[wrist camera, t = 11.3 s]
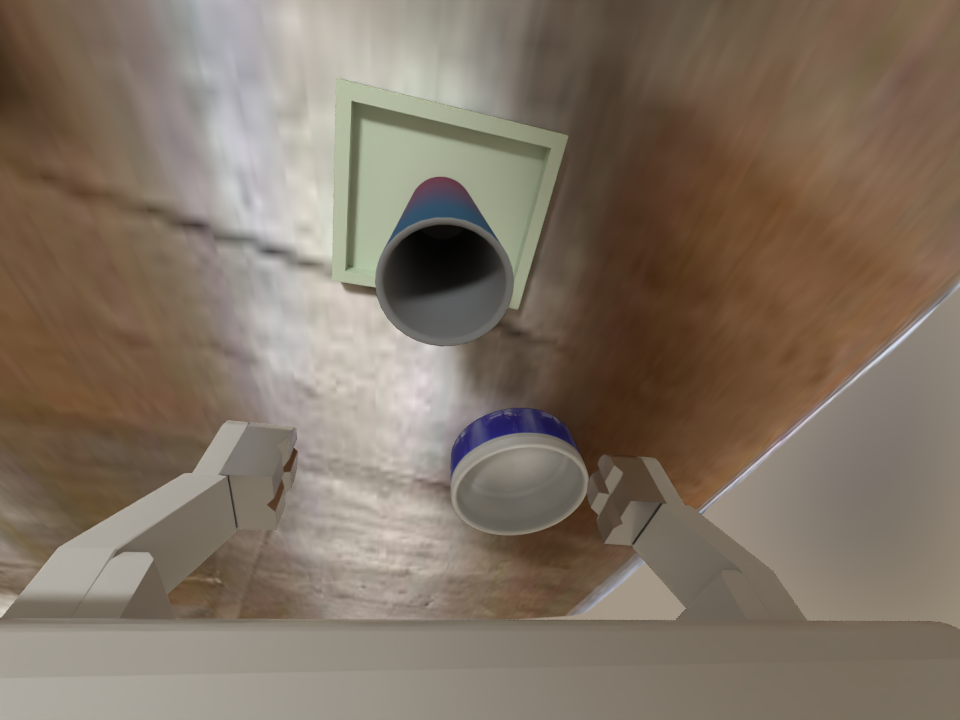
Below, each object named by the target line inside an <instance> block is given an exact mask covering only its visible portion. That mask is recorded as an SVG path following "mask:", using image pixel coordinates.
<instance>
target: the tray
mask: <svg viewBox="0 0 960 720" xmlns="http://www.w3.org/2000/svg"><path fill="white" fill-rule="evenodd" d="M567 140H568V135H565V134H563V133H559V132H555V131H550V130H546V129H542V128H538V127H534V126H530V125H526V124H522V123H518V122H514V121H510V120H506V119H502V118H498V117H493V116H489V115H485V114H481V113H477V112H473V111H469V110H465V109H461V108H457V107H453V106H449V105H445V104H441V103H436V102H432V101H428V100H424V99H420V98H416V97H412V96H408V95H404V94H400V93H396V92H392V91H388V90H384V89H379V88H375V87H371V86H367V85H363V84H359V83H355V82H351V81H347V80H343V79H336V105H335V155H334V206H333V256H332V281H338V282H344V283H351V284H357V285H363V286H370V287H375V276H376V268H377V265H378V262H379V258H380V256H381V254H382V252H383V250H384V248H385V246H386V244H387V242H388V241H389V239H390V237H391V235H392V233H393V231H394V229H395V227H396V225H397V223H398V221H399V219H400V218H401V216H402V214H403V212H404V210H405V208H406V206H407V204H408V202H409V200H410V198H411V197H412V195H413V193H414V191H415V189H416V188H417V187H418V186H419V185H420V184H421V183H423V182H424V181H425V180H428V179H430V178H433V177H448V178H451V179H453V180H456V181H457V182H459V183H460V184H461V185H462V186H463V187H464V188H465V189H466V190H467V192H468V193H469V195H470V196H471V198H472V200H473V201H474V203H475V204H476V206H477V207H478V209H479V211H480V212H481V214H482V215H483V217H484V218H485V220H486V222H487V223H488V225H489V226H490V228H491V229H492V231H493V233H494V234H495V236H496V237H497V239H498V240H499V242H500V244H501V245H502V247H503V248H504V250H505V251H506V253H507V255H508V257H509V260H510V263H511V265H512V269H513V276H514V287H513V295H512V298H511V302H510V305H509V307H508V308H512V309H518V308H519V305H520V301H521V298H522V295H523V291H524V288H525V284H526V281H527V277H528V274H529V270H530V267H531V264H532V260H533V257H534V253H535V250H536V246H537V243H538V240H539V236H540V233H541V229H542V226H543V222H544V219H545V215H546V212H547V209H548V205H549V202H550V198H551V195H552V191H553V188H554V185H555V181H556V178H557V174H558V171H559V167H560V164H561V160H562V157H563V154H564V150H565V147H566V143H567Z"/></svg>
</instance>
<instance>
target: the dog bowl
mask: <svg viewBox="0 0 960 720" xmlns="http://www.w3.org/2000/svg"><path fill="white" fill-rule="evenodd" d="M588 481H589V476H588V472H587V469H586V466H585V464H584V462H583V459H582V457H581V455H580V452H579V450H578V448H577V446H576V443H575V441H574V439H573V437H572V435H571V433H570V431H569V430H568V428H567V427H566V426H565V424H564V423H563V422H561V421H560V420H559V419H558V418H556V417H554V416H553V415H551V414H549V413H546V412H543V411H540V410H536V409H530V408H511V409H504V410H500V411H496V412H493V413H490V414H487V415H485V416H483V417H481V418H479V419H477V420H476V421H474V422H473V423H471V424H470V425H469V426H468V427H466V428H465V429H464V430H463V431H462V432H461V434H460V435H459V436H458V438H457V439H456V441H455V443H454V445H453V448H452V453H451V501H452V505H453V508H454V510H455V512H456V513H457V515H458V516H459V517H460V518H461V519H462V520H463V521H464V522H465V523H466V524H468V525H469V526H471V527H473V528H475V529H477V530H480V531H483V532H486V533H490V534H496V535H522V534H528V533H533V532H537V531H540V530H543V529H546V528H548V527H551V526H553V525H555V524H557V523H559V522H560V521H562V520H564V519H565V518H566V517H568V516H569V515H570V514H571V513H573V512H574V511H575V510H576V509H577V508H578V506H579V505H580V504H581V502H582V501H583V499H584V498H585V496H586V493H587V485H588Z"/></svg>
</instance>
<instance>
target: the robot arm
mask: <svg viewBox="0 0 960 720" xmlns="http://www.w3.org/2000/svg"><path fill="white" fill-rule="evenodd" d="M296 440H297V431H296V428H295V427H289V426H280V425H271V424H262V423H253V422H251V423H249V422H240V421H231V420H228V421H227V422H225V423H224V424H223V425H222V426H221V428H220V429H219V431H218V433H217V434H216V436H215V437H214V439H213V441H212V442H211V444H210V445H209V447H208V449H207V450H206V452H205V453H204V455H203V457H202V458H201V460H200V461H199V463H198V465H197V466H196V468H195V469H194V471H193V473H184V474H182V475H181V476H179V477H177V478H176V479H174V480H172V481H170V482H169V483H167V484H165V485H164V486H162V487H160V488H159V489H157V490H155V491H153V492H152V493H150V494H148V495H147V496H145V497H143V498H142V499H140V500H138V501H137V502H135V503H133V504H131V505H130V506H128V507H126V508H125V509H123V510H121V511H120V512H118V513H116V514H114V515H113V516H111V517H109V518H108V519H106V520H104V521H103V522H101V523H99V524H98V525H96V526H94V527H92V528H91V529H89V530H87V531H86V532H84V533H82V534H81V535H79V536H77V537H75V538H74V539H72V540H70V541H69V542H67V543H65V544H64V545H62V546H60V547H59V548H58V549H57V550H56V551H55V553H54V554H53V555H52V556H51V557H50V559H49V560H48V561H47V562H46V564H45V565H44V566H43V567H42V568H41V570H40V571H39V572H38V573H37V575H36V576H35V577H34V578H33V580H32V581H31V582H30V583H29V584H28V586H27V587H26V588H25V589H24V591H23V592H22V593H21V594H20V595H19V597H18V598H17V599H16V600H15V602H14V603H13V604H12V605H11V607H10V608H9V609H8V610H7V611H6V613H5V614H4V615H3V616H2V618H0V720H960V629H958V628H956V627H954V626H952V625H949V624H946V623H942V622H935V621H807V619H806V618H805V616H804V615H803V613H802V612H801V611H800V609H799V608H798V606H797V605H796V603H795V602H794V600H793V599H792V597H791V596H790V595H789V593H788V592H787V590H786V589H785V587H784V586H783V584H782V583H781V582H780V580H779V579H778V577H777V576H776V574H775V573H774V572H773V571H772V570H771V569H770V568H769V567H768V566H766V565H765V564H764V563H762V562H761V561H760V560H759V559H757V558H756V557H755V556H754V555H752V554H751V553H750V552H748V551H747V550H746V549H745V548H743V547H742V546H740V545H739V544H738V543H737V542H736V541H734V540H733V539H732V538H731V537H729V536H728V535H727V534H725V533H724V532H723V531H721V530H720V529H719V528H718V527H716V526H715V525H714V524H713V523H711V522H710V521H709V520H708V519H706V518H705V517H704V516H702V515H701V514H700V513H699V512H697V511H696V510H695V509H693V508H692V507H691V506H689V505H684V503H683V501H682V500H681V498H680V496H679V495H678V493H677V491H676V490H675V488H674V486H673V485H672V483H671V481H670V480H669V478H668V476H667V475H666V473H665V471H664V470H663V468H662V466H661V465H660V463H659V461H658V460H656V459H655V458H651V457H635V456H624V455H611V454H604V455H603V456H601V457H600V459H599V461H598V463H597V464H598V467H599V470H597V471H596V472H594V473H593V474H591V476H590V479H589V481H588V485H587V497H588V501H589V504H590V507H591V508H592V509H593V510H594V511H595V512H596V513H597V514H598V517H597V520H596V523H597V526H598V529H599V531H600V534H601V537H602V539H603V542H604V544H616V545H630V546H633V547H632V548H633V549H634V550H635V551H636V552H637V553H638V554H639V555H640V557H641V558H642V559H643V560H644V561H645V562H646V563H647V564H648V566H649V567H650V568H651V569H652V570H653V571H654V572H655V574H656V575H657V576H658V577H659V578H660V579H661V580H662V581H663V583H664V584H665V585H666V586H667V587H668V588H669V589H670V591H671V592H672V593H673V594H674V595H675V596H676V597H677V598H678V600H679V601H680V602H681V603H682V604H683V605H684V606H685V607H686V609H685V610H684V612H682V614H681V615H680V616H679V617H678V618H677V619H676V620H420V619H176V618H175V615H174V613H173V610H172V607H171V604H170V602H169V599H168V596H167V594H168V593H170V592H171V591H172V590H173V589H174V588H175V587H176V586H177V585H178V584H179V583H181V582H182V581H183V580H184V579H185V578H186V577H187V576H188V575H189V574H190V573H192V572H193V571H194V570H195V569H196V568H197V567H198V566H199V565H200V564H201V563H203V562H204V561H205V560H206V559H207V558H208V557H209V556H210V555H211V554H212V553H214V552H215V551H216V550H217V549H218V548H219V547H220V546H221V545H222V544H223V543H225V542H226V541H227V540H228V539H229V538H230V537H231V536H232V535H233V534H234V533H236V532H237V530H236V529H258V530H277V527H278V525H279V522H280V519H281V516H282V514H283V511H284V508H285V494H286V493H287V492H289V491H290V490H291V488H292V485H293V482H294V479H295V474H296V470H297V461H298V451H297V450H296V449H295V448H294V445H295V443H296Z"/></svg>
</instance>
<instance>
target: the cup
mask: <svg viewBox="0 0 960 720" xmlns="http://www.w3.org/2000/svg"><path fill="white" fill-rule="evenodd" d="M375 287H376V294H377V298H378V300H379V303H380V306H381V308H382V310H383V311H384V313H385V315H386V316H387V318H388V319H389V320H390V321H391V323H392V324H393V325H394V326H395V327H396V328H397V329H399V330H400V331H401V332H403V333H404V334H405V335H407V336H409V337H411V338H413V339H415V340H417V341H419V342H423V343H426V344H429V345H436V346H455V345H460V344H465V343H468V342H470V341H473V340H476V339H478V338H479V337H481V336H483V335H484V334H486V333H488V332H489V331H490V330H491V329H492V328H493V327H495V326H496V325H497V324H498V322H499V321H500V320H501V318H502V317H503V316H504V315H505V313H506V311H507V309H508V307H509V305H510V302H511V298H512V295H513V287H514V276H513V269H512V265H511V263H510V260H509V257H508V255H507V253H506V251H505V250H504V248H503V247H502V245H501V244H500V242H499V240H498V239H497V237H496V236H495V234H494V233H493V231H492V229H491V228H490V226H489V225H488V223H487V222H486V220H485V218H484V217H483V215H482V214H481V212H480V211H479V209H478V207H477V206H476V204H475V203H474V201H473V200H472V198H471V196H470V195H469V193H468V192H467V190H466V189H465V188H464V187H463V186H462V185H461V184H460V183H459V182H457V181H456V180H453V179H451V178H448V177H433V178H430V179H428V180H425V181H424V182H423V183H421V184H420V185H419V186H418V187H417V188H416V189H415V191H414V193H413V195H412V197H411V198H410V200H409V202H408V204H407V206H406V208H405V210H404V212H403V214H402V216H401V218H400V219H399V221H398V223H397V225H396V227H395V229H394V231H393V233H392V235H391V237H390V239H389V241H388V242H387V244H386V246H385V248H384V250H383V252H382V254H381V256H380V258H379V262H378V265H377V268H376V276H375Z"/></svg>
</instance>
